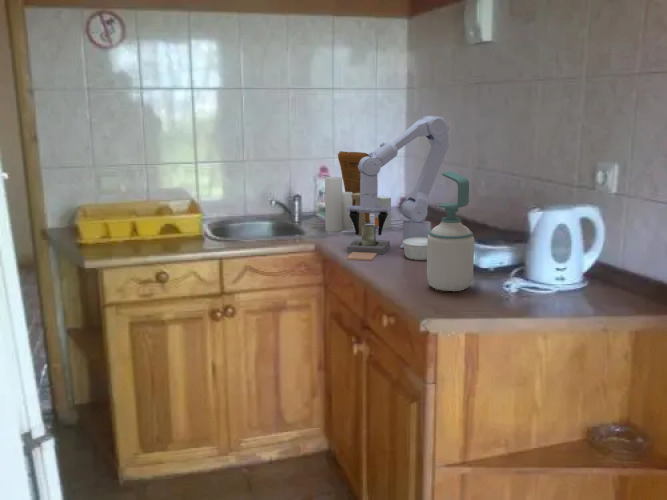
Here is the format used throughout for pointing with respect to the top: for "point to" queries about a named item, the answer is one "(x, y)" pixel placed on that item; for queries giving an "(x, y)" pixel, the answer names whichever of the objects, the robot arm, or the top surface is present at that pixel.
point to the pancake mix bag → (352, 173)
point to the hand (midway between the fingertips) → (368, 234)
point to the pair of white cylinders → (337, 205)
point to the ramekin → (416, 248)
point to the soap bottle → (451, 245)
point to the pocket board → (368, 247)
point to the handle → (361, 214)
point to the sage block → (369, 235)
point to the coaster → (361, 256)
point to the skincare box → (383, 202)
